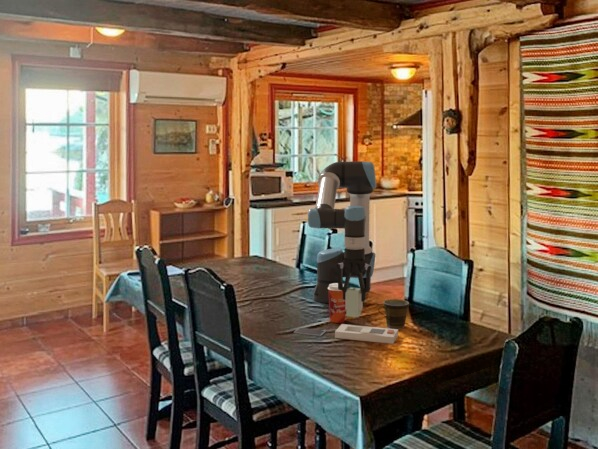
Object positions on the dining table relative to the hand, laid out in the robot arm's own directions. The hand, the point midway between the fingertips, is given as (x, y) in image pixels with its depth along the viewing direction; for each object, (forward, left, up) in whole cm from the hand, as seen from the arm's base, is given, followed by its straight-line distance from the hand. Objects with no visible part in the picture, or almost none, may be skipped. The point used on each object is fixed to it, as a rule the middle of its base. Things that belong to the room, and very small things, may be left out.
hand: (354, 308), depth 237 cm
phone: (+1, -17, -11) cm, 20 cm away
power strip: (0, +5, -10) cm, 11 cm away
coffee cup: (-17, -11, -11) cm, 23 cm away
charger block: (0, 0, -2) cm, 2 cm away
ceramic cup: (-15, +12, -11) cm, 22 cm away
